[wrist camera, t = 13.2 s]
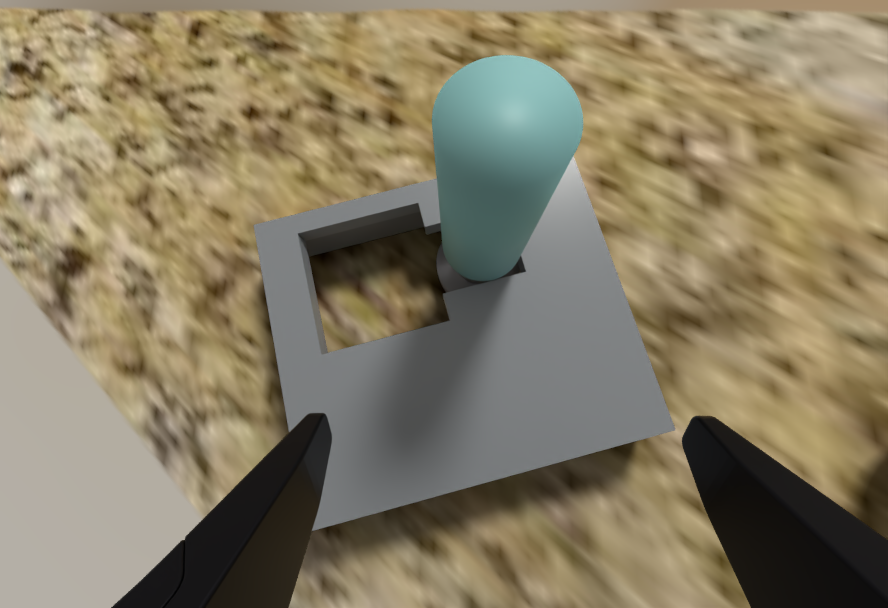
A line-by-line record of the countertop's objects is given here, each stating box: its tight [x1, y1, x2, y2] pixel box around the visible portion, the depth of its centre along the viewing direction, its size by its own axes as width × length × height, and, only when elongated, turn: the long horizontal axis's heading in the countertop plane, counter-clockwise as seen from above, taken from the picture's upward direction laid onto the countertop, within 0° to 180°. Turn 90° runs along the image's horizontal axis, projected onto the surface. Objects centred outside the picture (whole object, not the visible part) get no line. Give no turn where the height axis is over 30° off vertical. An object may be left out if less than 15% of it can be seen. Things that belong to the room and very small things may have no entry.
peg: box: [432, 55, 583, 293], centre depth 15 cm, size 4×4×12 cm
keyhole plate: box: [254, 156, 675, 531], centre depth 19 cm, size 14×16×3 cm
